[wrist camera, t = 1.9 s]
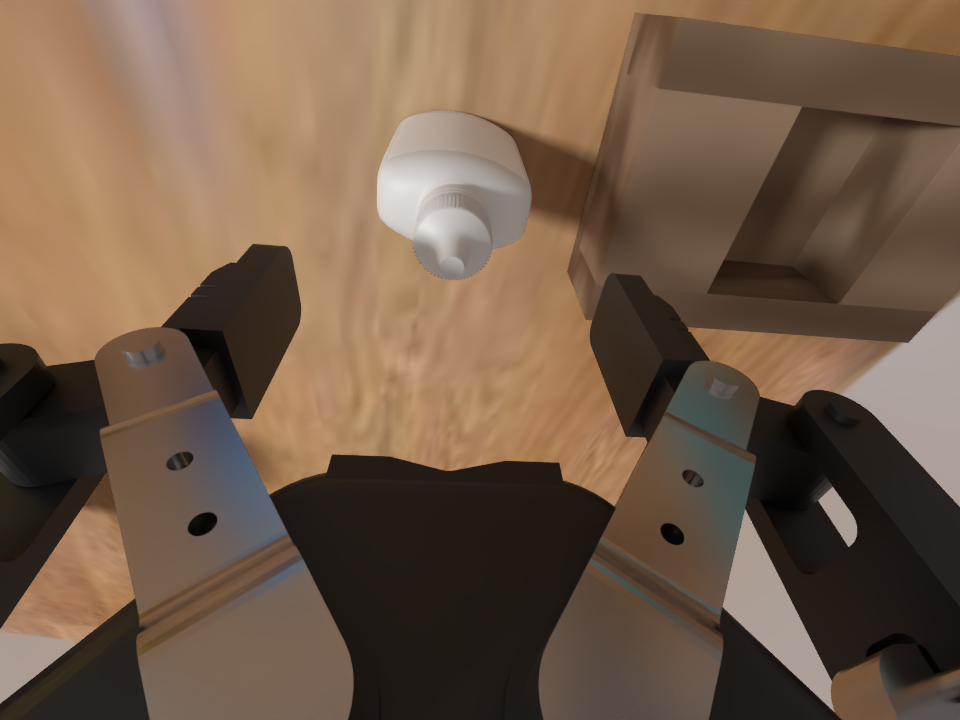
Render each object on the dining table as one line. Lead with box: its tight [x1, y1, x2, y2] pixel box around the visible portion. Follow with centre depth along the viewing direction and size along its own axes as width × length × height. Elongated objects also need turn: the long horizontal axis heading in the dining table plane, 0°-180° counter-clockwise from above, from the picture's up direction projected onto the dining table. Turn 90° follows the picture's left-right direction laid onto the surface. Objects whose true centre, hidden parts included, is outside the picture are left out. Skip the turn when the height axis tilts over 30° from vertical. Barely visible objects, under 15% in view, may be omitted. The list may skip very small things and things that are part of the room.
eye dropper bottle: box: [377, 111, 532, 280], centre depth 17 cm, size 4×6×12 cm
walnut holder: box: [567, 13, 960, 343], centre depth 21 cm, size 12×18×5 cm, turn 84°
